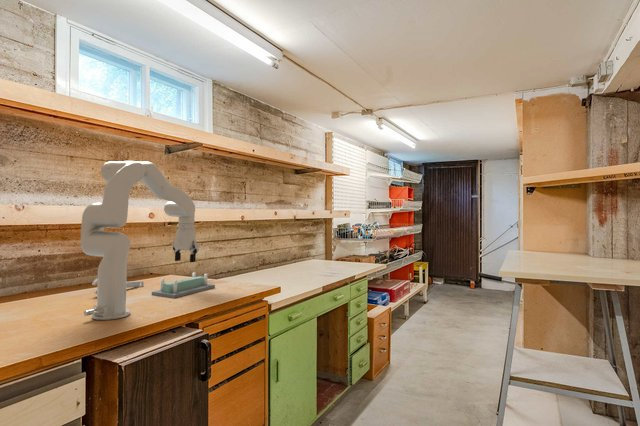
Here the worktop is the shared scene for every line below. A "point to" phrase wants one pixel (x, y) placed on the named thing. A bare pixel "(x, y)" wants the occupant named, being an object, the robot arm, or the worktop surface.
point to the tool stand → (186, 291)
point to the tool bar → (184, 284)
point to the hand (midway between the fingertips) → (185, 261)
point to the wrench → (128, 284)
